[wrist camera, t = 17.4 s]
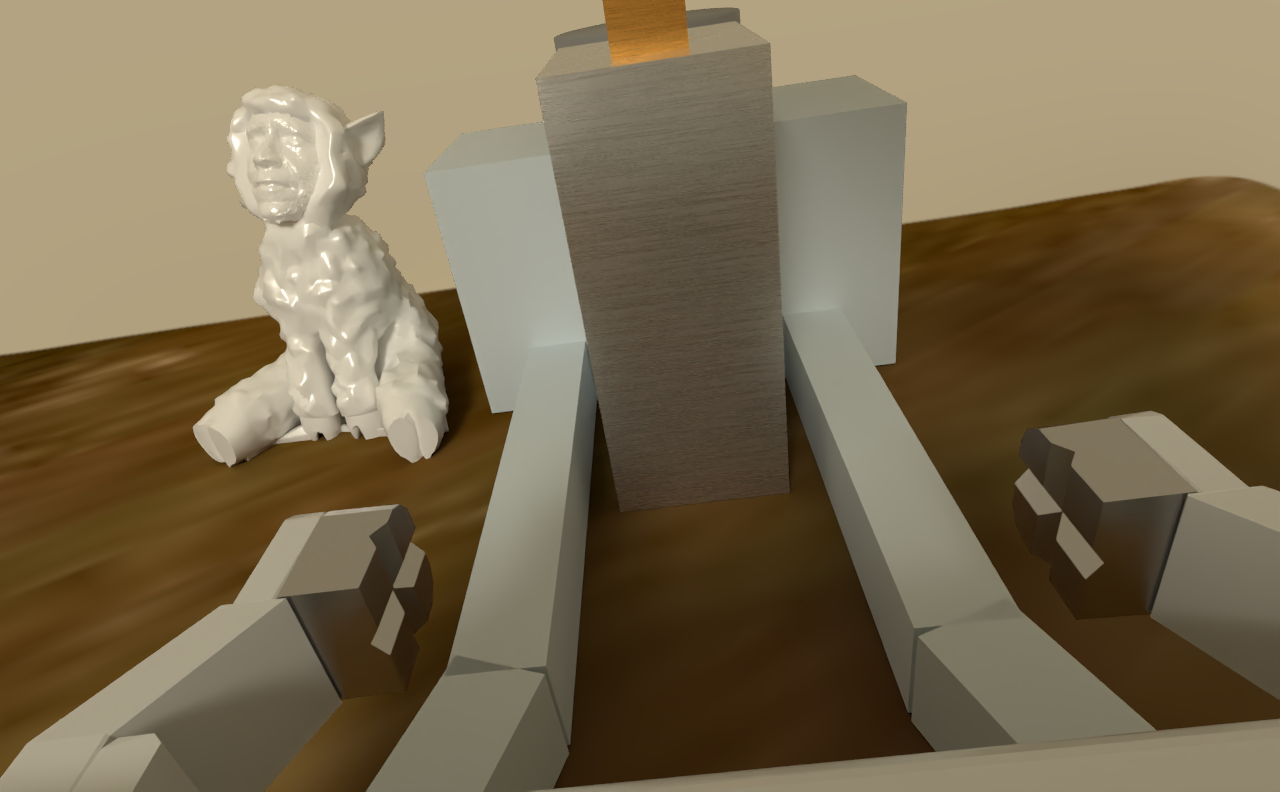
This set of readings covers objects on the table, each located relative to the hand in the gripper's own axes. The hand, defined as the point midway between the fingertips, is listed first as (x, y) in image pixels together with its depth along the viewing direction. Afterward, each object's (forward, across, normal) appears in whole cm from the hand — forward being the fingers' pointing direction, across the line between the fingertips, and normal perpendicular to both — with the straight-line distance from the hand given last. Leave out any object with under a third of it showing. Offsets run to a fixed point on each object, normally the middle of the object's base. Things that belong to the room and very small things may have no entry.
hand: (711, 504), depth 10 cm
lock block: (+12, 0, +8) cm, 14 cm away
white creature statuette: (+18, +13, +8) cm, 23 cm away
